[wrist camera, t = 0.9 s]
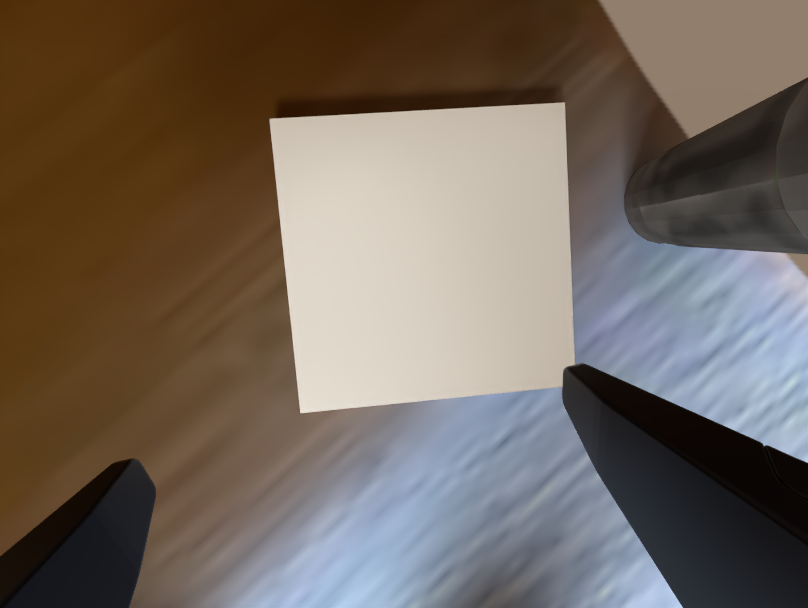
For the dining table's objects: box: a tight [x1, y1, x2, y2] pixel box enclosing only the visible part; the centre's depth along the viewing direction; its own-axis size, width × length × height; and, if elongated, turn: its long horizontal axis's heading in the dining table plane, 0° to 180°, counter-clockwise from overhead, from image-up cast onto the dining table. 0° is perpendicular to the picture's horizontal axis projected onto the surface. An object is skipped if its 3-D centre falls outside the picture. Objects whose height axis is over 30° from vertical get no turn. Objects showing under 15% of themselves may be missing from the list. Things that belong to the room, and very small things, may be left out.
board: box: [270, 102, 575, 413], centre depth 21 cm, size 14×14×1 cm
